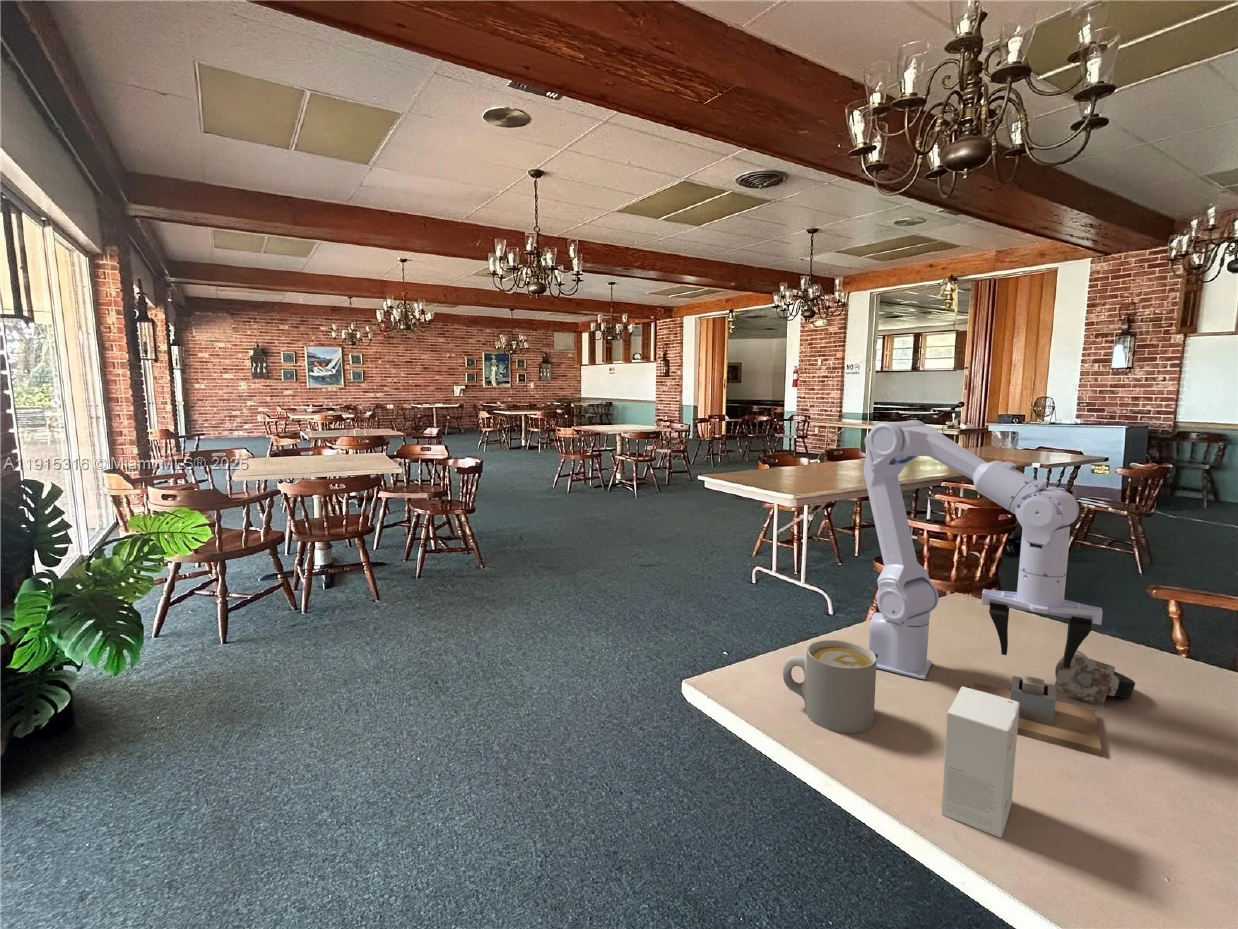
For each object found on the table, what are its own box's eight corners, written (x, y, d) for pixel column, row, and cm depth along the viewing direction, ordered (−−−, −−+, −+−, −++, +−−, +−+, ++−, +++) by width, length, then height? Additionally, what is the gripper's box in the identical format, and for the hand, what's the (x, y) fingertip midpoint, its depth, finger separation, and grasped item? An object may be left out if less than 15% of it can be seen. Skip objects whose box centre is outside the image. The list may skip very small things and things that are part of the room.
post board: (965, 720, 91) (968, 682, 91) (973, 687, 101) (975, 653, 100) (1100, 756, 82) (1104, 715, 81) (1094, 716, 92) (1098, 679, 91)
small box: (954, 780, 78) (961, 684, 76) (1012, 802, 74) (1021, 701, 72) (939, 815, 71) (945, 711, 70) (1001, 840, 67) (1010, 731, 66)
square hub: (1009, 715, 91) (1011, 690, 90) (1010, 699, 95) (1012, 675, 95) (1053, 726, 88) (1055, 700, 87) (1052, 710, 92) (1055, 685, 92)
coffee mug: (881, 711, 94) (884, 650, 93) (862, 741, 86) (865, 674, 85) (797, 686, 102) (799, 629, 101) (773, 711, 94) (775, 650, 93)
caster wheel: (1116, 699, 102) (1139, 720, 93) (1038, 673, 106) (1054, 691, 97) (1128, 661, 101) (1153, 679, 92) (1050, 637, 106) (1066, 651, 97)
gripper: (982, 569, 90) (976, 656, 92) (1107, 587, 81) (1097, 682, 83) (986, 558, 95) (980, 640, 97) (1103, 574, 87) (1094, 663, 89)
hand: (1034, 659), depth 91 cm, fingers open, 7 cm apart
